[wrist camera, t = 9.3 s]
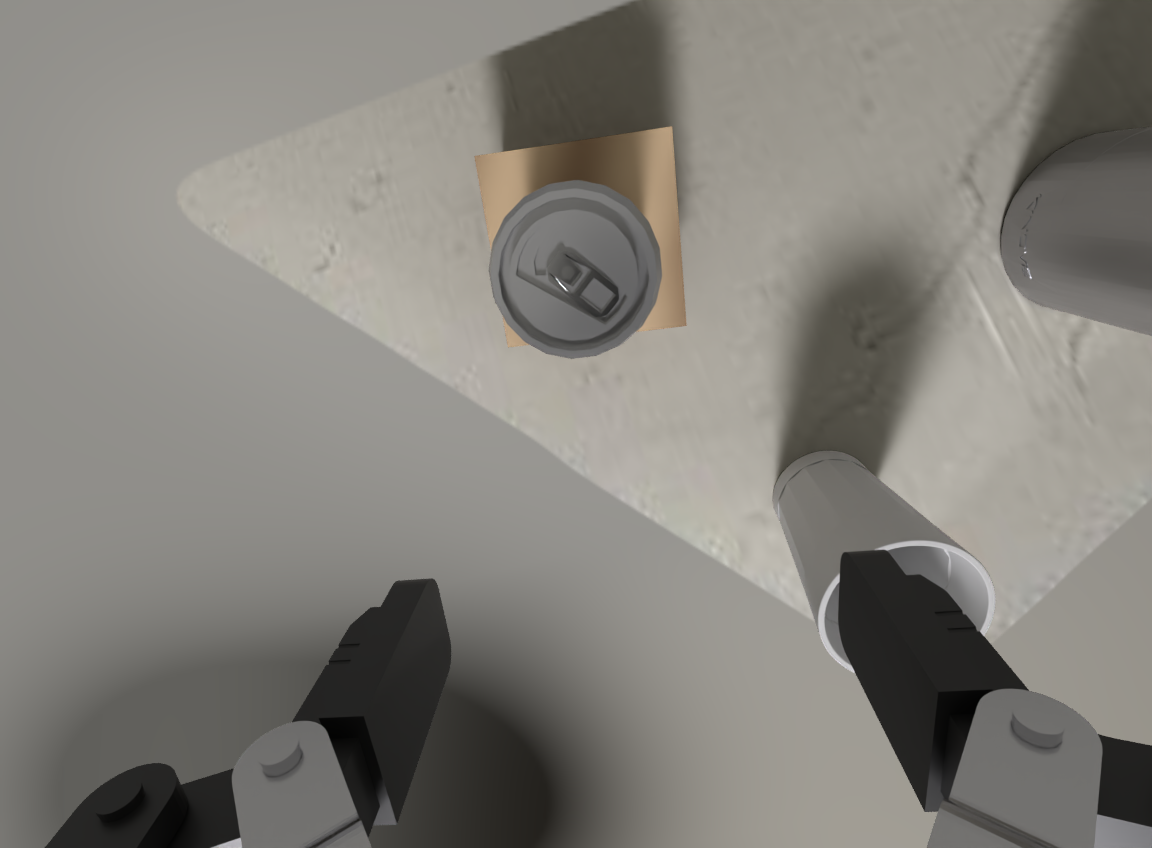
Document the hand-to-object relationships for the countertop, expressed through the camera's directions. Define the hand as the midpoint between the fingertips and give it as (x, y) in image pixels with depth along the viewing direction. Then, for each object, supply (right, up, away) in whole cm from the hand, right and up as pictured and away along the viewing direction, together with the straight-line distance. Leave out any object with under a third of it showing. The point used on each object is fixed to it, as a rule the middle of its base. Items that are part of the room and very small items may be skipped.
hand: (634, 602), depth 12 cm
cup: (+15, -1, +28) cm, 32 cm away
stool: (-1, +14, +23) cm, 27 cm away
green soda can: (-1, +12, +17) cm, 21 cm away
